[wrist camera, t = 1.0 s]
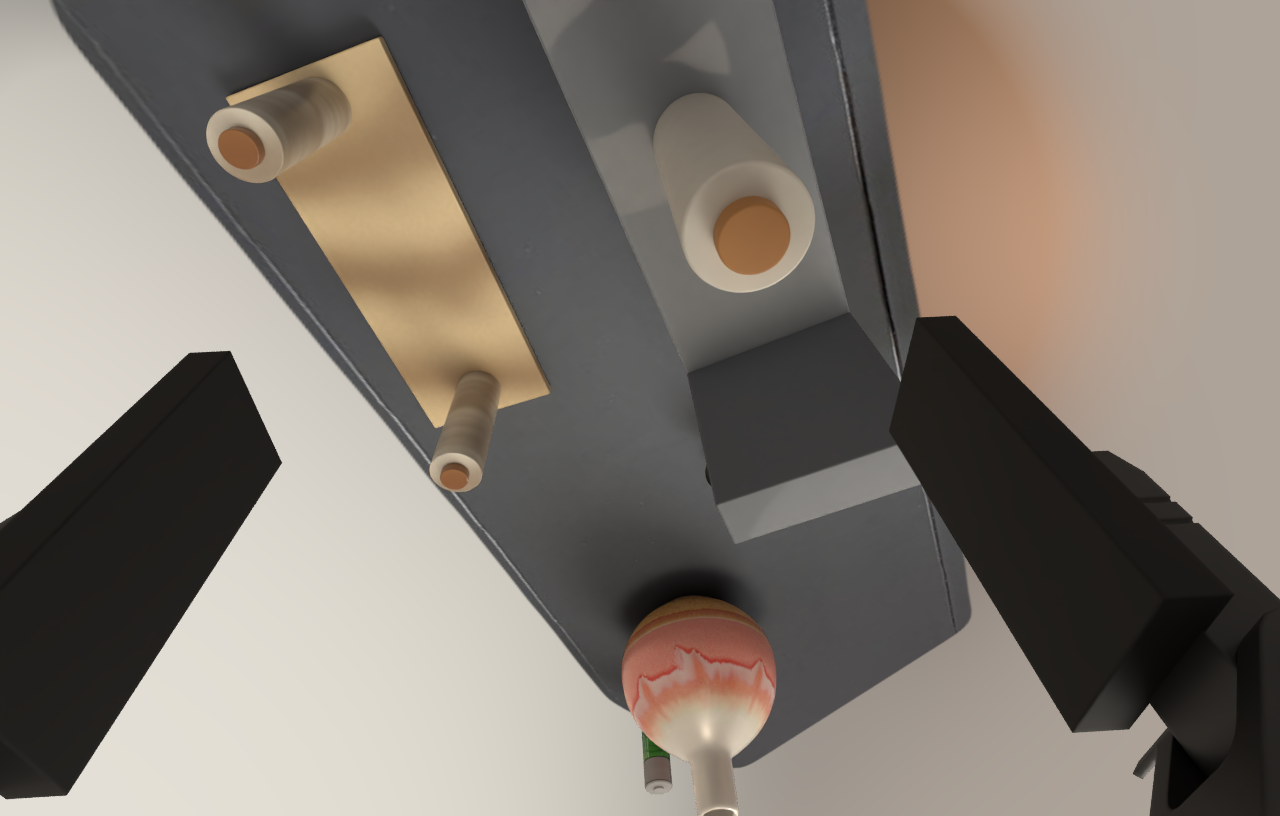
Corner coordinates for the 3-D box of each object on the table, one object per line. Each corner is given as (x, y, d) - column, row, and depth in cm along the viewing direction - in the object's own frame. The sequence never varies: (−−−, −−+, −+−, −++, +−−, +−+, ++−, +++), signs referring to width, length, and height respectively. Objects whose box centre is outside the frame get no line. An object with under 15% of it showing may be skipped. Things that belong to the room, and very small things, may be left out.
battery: (635, 702, 69) (640, 795, 61) (646, 689, 68) (652, 782, 60) (657, 706, 70) (665, 799, 62) (668, 693, 69) (677, 786, 61)
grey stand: (507, -124, 30) (322, -312, 10) (646, -202, 28) (755, -596, 9) (669, 267, 41) (734, 545, 21) (773, 224, 40) (945, 477, 20)
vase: (781, 630, 63) (835, 826, 49) (660, 674, 66) (676, 870, 52) (726, 549, 56) (770, 749, 42) (593, 602, 59) (591, 806, 45)
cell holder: (231, 95, 34) (108, 137, 25) (382, 35, 33) (306, 58, 24) (437, 421, 47) (401, 523, 38) (551, 387, 46) (540, 484, 37)
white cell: (658, 87, 20) (696, 160, 13) (749, 97, 21) (841, 176, 13) (647, 182, 22) (675, 300, 14) (731, 190, 22) (804, 310, 15)
